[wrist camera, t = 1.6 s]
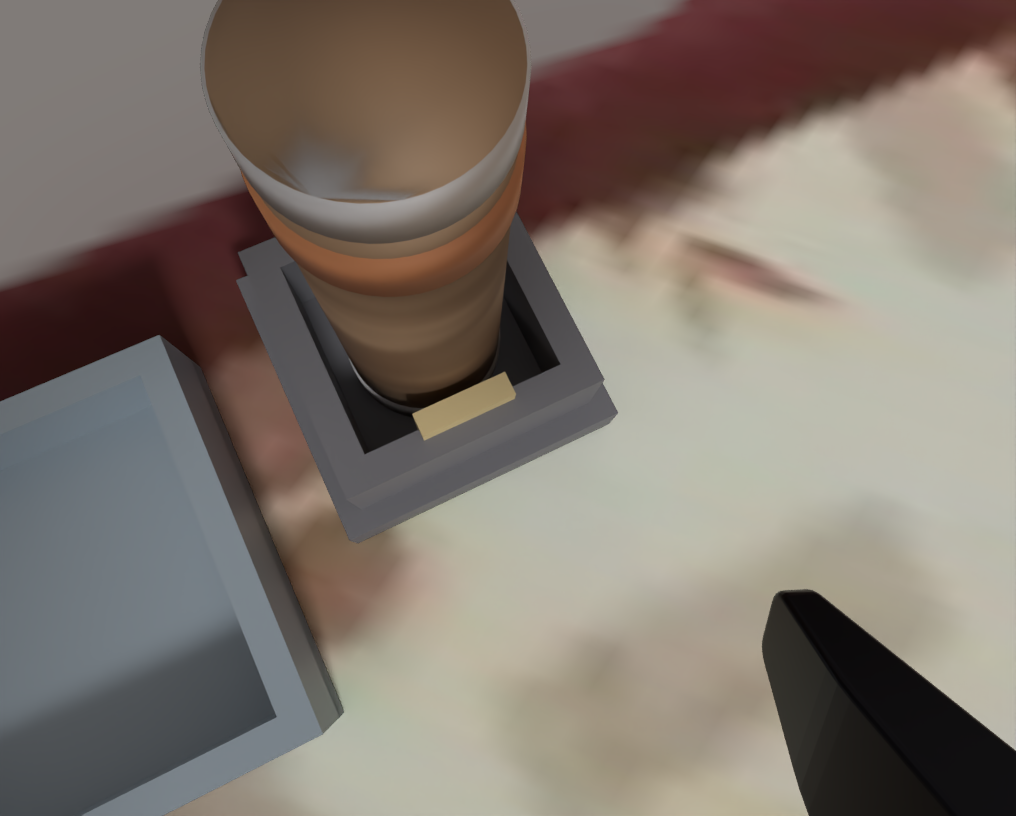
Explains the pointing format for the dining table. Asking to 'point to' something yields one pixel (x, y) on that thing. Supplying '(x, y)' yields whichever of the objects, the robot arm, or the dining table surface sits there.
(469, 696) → the dining table surface
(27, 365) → the dining table surface
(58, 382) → the tray
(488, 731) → the dining table surface
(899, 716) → the robot arm
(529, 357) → the socket block
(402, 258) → the peg
